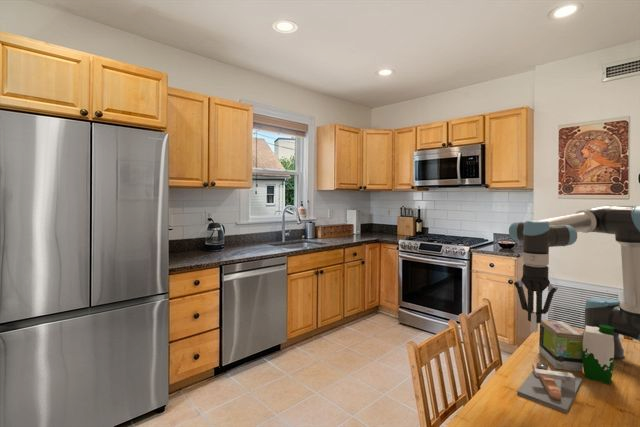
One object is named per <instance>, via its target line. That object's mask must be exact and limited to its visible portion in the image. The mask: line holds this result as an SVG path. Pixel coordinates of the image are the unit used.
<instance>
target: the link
mask: <svg viewBox="0 0 640 427" xmlns="http://www.w3.org/2000/svg"><path fill="white" fill-rule="evenodd" d="M536 364H537V363H532V364H531V367H532V371H534V369H540V368H538V367H537V366H536ZM550 369H551V368H550V366H549V365H548V369H544V370H550ZM542 370H543V369H542ZM550 371H551V370H550ZM540 378H541V380H542V382H543V384H544V386H545V388H546V389H547V391H548V393H549V395H550V397H551V398H553V399H556V400H561V391H560V390H559V388H558V386H557V385H556V383H555V381H554V380H553V379H551V378H544V377H540Z"/></svg>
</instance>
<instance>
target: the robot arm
mask: <svg viewBox="0 0 640 427" xmlns="http://www.w3.org/2000/svg"><path fill="white" fill-rule="evenodd" d="M580 232H581V233H583V234H588V233H601V234H609V235H615V236H614V237H615V242H617V243H618V244H620V252H621V253H620V254H621V271H622V287H623V302H621V301H620V300H618V299H615V298H606V297H591V298H588V299H586V300H585V303H584V304H585V305H584V330H583V332H582V334H583V335H584V332H585V327H586V326H591V327H598V328H599V326H600V325H608V326H611V327H613V328H614V360H615V359H616V360H617V359H623V358H624V355H625V354H624V353H625V351H624V348H623V346H622V342H621V339H620V335H621V336H622V337H626V338H629V339H632V340H635V341H638V342H640V205H603V206H596V207H592V208H591V207H590V208H588V209H587V208H586V209H581V210H578V211H576V212H575V213H573V214H567V215H561V216H555V217H550V218H544V219H538V220H533V219H532V220H526V221H524V222H523V221H514V222H513V223H511V224H510V226H509V227H508V235H509V237H510V238H511V239H512V240H513V241H518V242H523V243H522V244H523V245H522V246H523V247H522V248H523V249H522V262H523V264H522V277H521V278H520V280H516V281H515V282H513V284H514V286H515V288H516V289H517V293H518V294H517V295H518V298H519V302H520V306H521V310H523V311H526V312H527V320H528V322H530V332H532V333H535V334H536V333H537V332H539V324H540V323H541V320H542V318H543V317H542V315H546V314H547V313H548V312H549V309H550V307H551V303H552V300H553V297H554V295H555V293H556V292H557V291H558V287H557V286H554V285H552V284H551V281H550V280H549V268H550V267H549V266H548V265H549V262H550V260H549V259H550V248H552V247H553V248H554V247H567V246H571V245H574V244H575V243H576V242H577V241H578V240H577V239H578V233H580ZM523 285H524V287H525V288H526V289H527V299H526V294H525V291H524V290H525V289H524V287H523ZM547 288H548V289H547ZM546 289H547V291H548V293H547V296H546V299H545V302H544V306H543V291H545V290H546ZM534 294H535V295H536V297H534V296H535V295H534ZM534 298H535V299H536V300H534ZM534 301H536V302H535V311H534Z"/></svg>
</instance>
